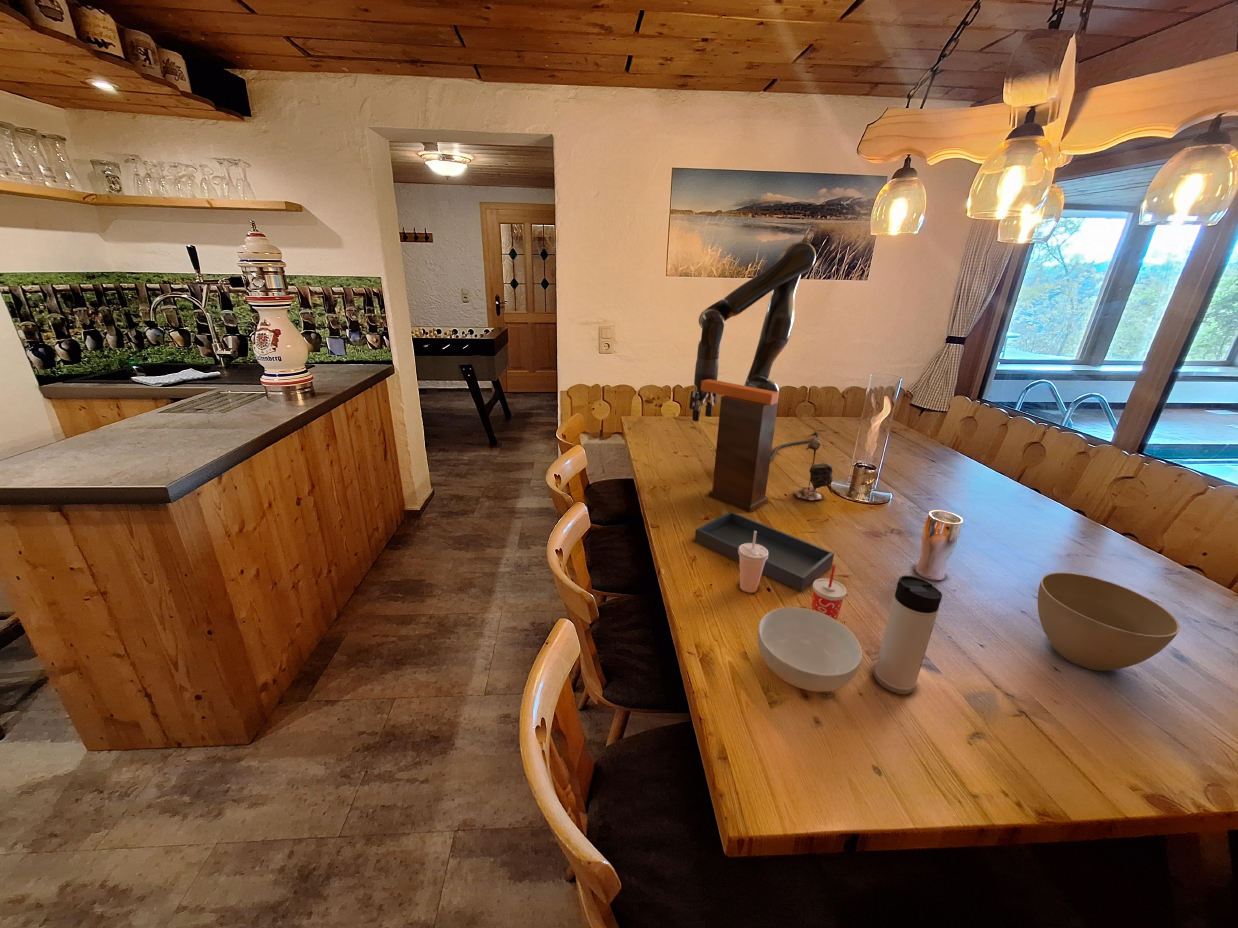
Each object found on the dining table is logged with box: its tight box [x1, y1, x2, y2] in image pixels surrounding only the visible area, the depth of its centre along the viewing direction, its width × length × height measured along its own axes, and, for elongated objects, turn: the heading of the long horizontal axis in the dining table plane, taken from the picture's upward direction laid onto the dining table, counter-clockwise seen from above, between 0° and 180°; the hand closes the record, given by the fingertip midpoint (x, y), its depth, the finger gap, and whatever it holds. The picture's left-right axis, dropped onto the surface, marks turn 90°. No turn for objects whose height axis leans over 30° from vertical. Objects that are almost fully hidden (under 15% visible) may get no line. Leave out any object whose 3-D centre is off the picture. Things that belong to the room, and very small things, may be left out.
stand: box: [708, 395, 779, 513], centre depth 147 cm, size 10×15×32 cm, turn 44°
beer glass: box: [914, 509, 964, 581], centre depth 113 cm, size 7×7×15 cm
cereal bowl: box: [756, 606, 863, 693], centre depth 86 cm, size 17×17×7 cm
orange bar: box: [701, 379, 780, 405], centre depth 143 cm, size 4×24×3 cm, turn 44°
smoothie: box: [738, 531, 768, 593], centre depth 107 cm, size 6×6×14 cm
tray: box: [694, 510, 835, 593], centre depth 122 cm, size 16×30×4 cm, turn 44°
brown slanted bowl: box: [1037, 572, 1181, 672], centre depth 89 cm, size 18×18×12 cm
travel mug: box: [873, 575, 943, 695], centre depth 81 cm, size 6×7×20 cm
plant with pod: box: [794, 437, 834, 501], centre depth 151 cm, size 8×11×20 cm
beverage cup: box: [810, 564, 848, 621], centre depth 95 cm, size 6×6×14 cm
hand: (702, 418), depth 168 cm, fingers open, 8 cm apart
